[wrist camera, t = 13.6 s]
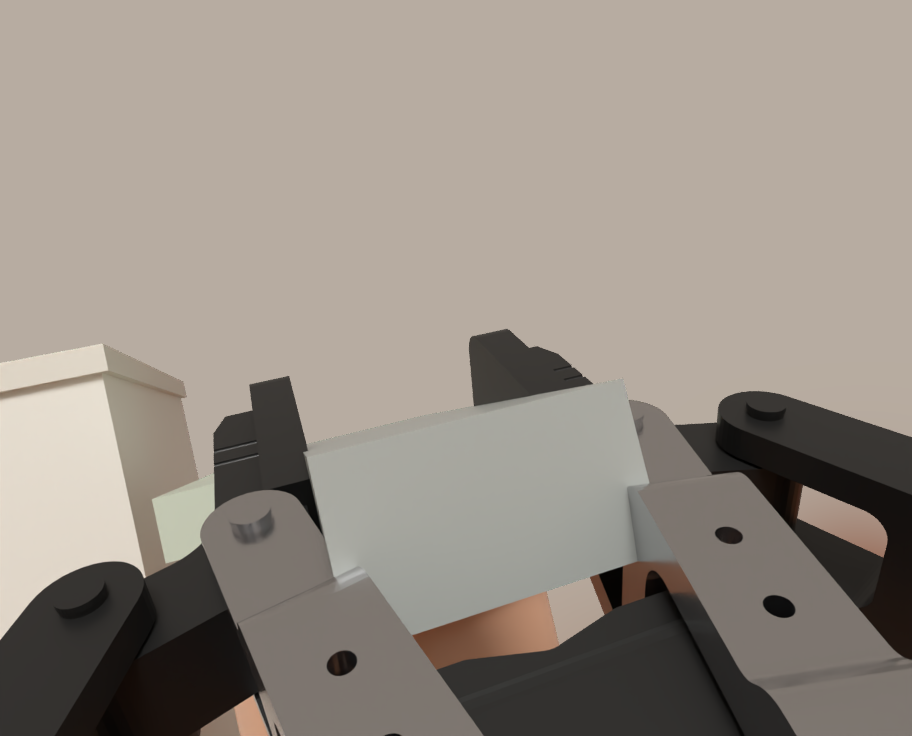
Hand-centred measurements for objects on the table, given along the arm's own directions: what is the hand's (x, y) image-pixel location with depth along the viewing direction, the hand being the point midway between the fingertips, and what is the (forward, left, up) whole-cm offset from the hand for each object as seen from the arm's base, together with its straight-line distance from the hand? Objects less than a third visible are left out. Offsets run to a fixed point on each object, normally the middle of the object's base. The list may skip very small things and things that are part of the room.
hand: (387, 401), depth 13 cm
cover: (0, +7, -3) cm, 7 cm away
